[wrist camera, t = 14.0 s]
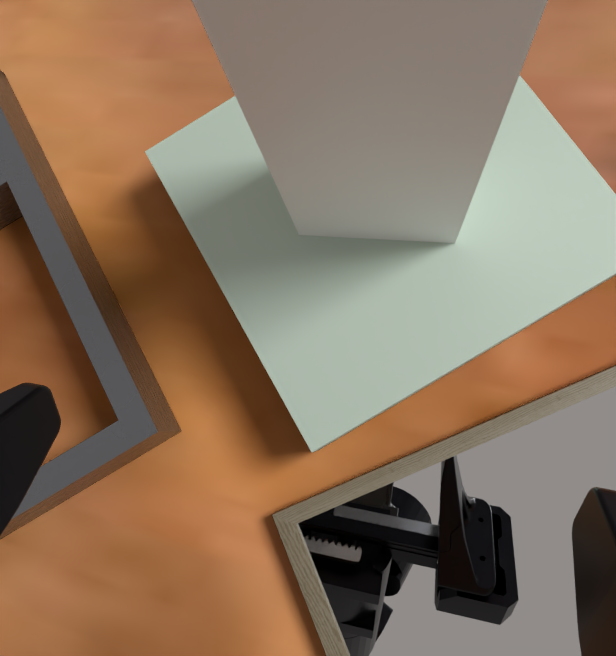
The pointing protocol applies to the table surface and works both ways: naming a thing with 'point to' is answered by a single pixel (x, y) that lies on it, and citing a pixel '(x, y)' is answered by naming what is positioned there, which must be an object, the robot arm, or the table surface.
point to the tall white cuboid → (373, 103)
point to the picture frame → (460, 536)
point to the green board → (390, 265)
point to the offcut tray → (78, 322)
